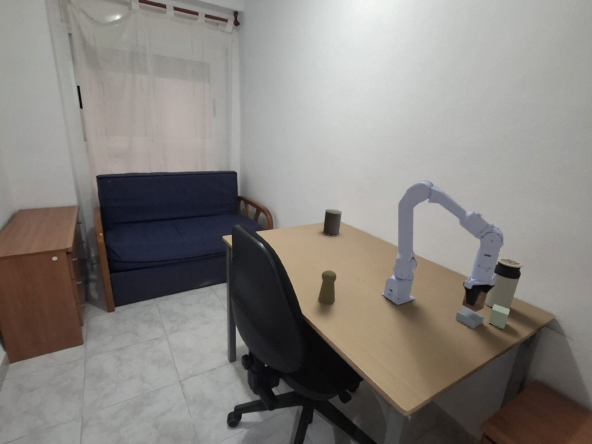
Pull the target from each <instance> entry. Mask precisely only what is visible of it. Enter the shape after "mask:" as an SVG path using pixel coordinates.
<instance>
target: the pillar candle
mask: <svg viewBox="0 0 592 444" xmlns="http://www.w3.org/2000/svg"><path fill="white" fill-rule="evenodd" d="M342 214H343V213H342V210H339V209H335V208H327V209H326V210H325V213H324V221H323V230H322V233H323V232H324V233H326V234H325V235H327V234H330V235H329V236H332V235H334V236H338V235H339V234H340V227H341V220H342ZM337 234H338V235H337Z"/></svg>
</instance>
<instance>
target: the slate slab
mask: <svg viewBox="0 0 592 444" xmlns="http://www.w3.org/2000/svg"><path fill="white" fill-rule="evenodd" d="M455 318H456V319H457V321H458V320H459V322H460V321H461V323H462V322H463V323H462V324H463V325H465V324H466V326H467V325H468V326H467V327H469V326H470V327H469V328H471V327H472V328H471V329H473V328H474V329H476V328H477V327H478V325H479V324H480V325H482V324H483V322H484V318H485V316H484V315H483V314H480V313H479V312H478V311H477V312H475V311H473V310H471V309H469V308H467V307H465V306H464V308H461V309H460V310H458V311H457V312H456V315H455ZM456 319H455V320H456ZM481 323H482V324H481ZM480 325H479V326H480ZM476 326H477V327H476ZM475 327H476V328H475Z"/></svg>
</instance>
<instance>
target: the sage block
mask: <svg viewBox="0 0 592 444" xmlns="http://www.w3.org/2000/svg"><path fill="white" fill-rule="evenodd" d="M510 309H511V308H510ZM510 309H507V308H505V307H502V306H499V305H496V304H494V305H493V308H491V313H490V316H489V318H488V321H487V323H488V322H489V323H491V324H494V325H496V326H498V327H497V328H499V327H500V328H499V329H502V328H503V329H502V330H505V327H506V323H507V321H508V318H509V315H510ZM489 323H488V324H489ZM491 324H490V325H491ZM494 325H493V326H494ZM496 326H495V327H496Z"/></svg>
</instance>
